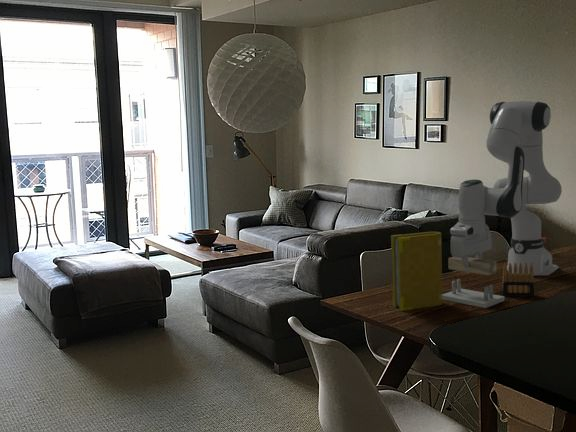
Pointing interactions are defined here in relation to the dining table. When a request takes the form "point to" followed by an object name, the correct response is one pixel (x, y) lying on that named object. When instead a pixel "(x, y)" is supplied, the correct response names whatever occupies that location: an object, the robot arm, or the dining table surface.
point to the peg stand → (472, 296)
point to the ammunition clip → (518, 281)
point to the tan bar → (473, 265)
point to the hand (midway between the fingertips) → (472, 266)
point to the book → (417, 270)
